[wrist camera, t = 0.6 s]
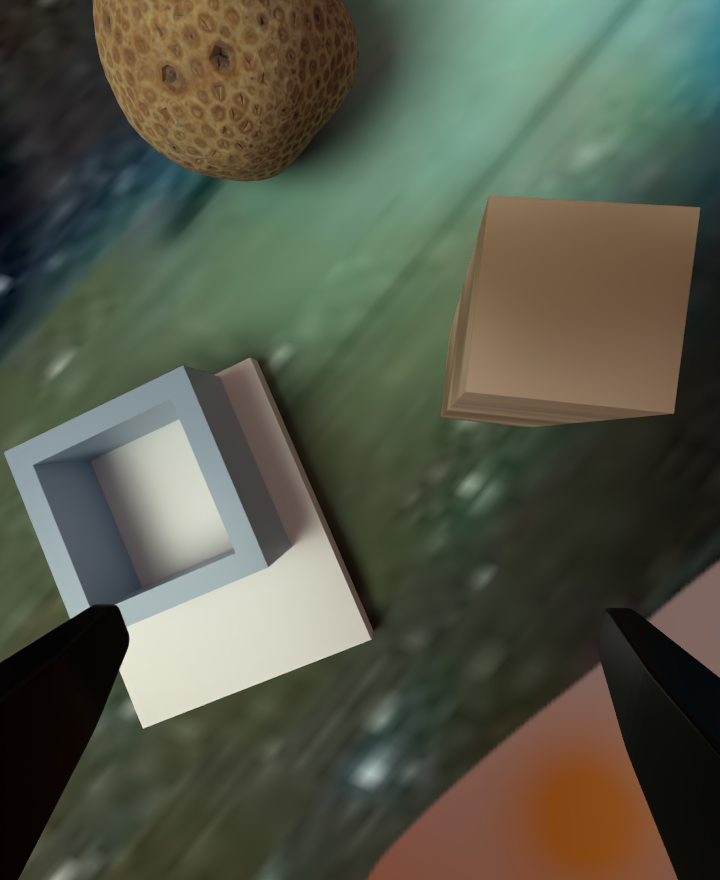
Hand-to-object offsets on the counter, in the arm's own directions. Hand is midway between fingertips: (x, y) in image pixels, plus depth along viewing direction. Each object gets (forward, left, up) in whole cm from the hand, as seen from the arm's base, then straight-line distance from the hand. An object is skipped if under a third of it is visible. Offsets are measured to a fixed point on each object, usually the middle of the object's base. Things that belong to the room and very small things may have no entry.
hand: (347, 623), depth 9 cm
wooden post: (+5, -6, -14) cm, 16 cm away
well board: (0, +9, -14) cm, 17 cm away
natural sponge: (+19, +2, -14) cm, 24 cm away
